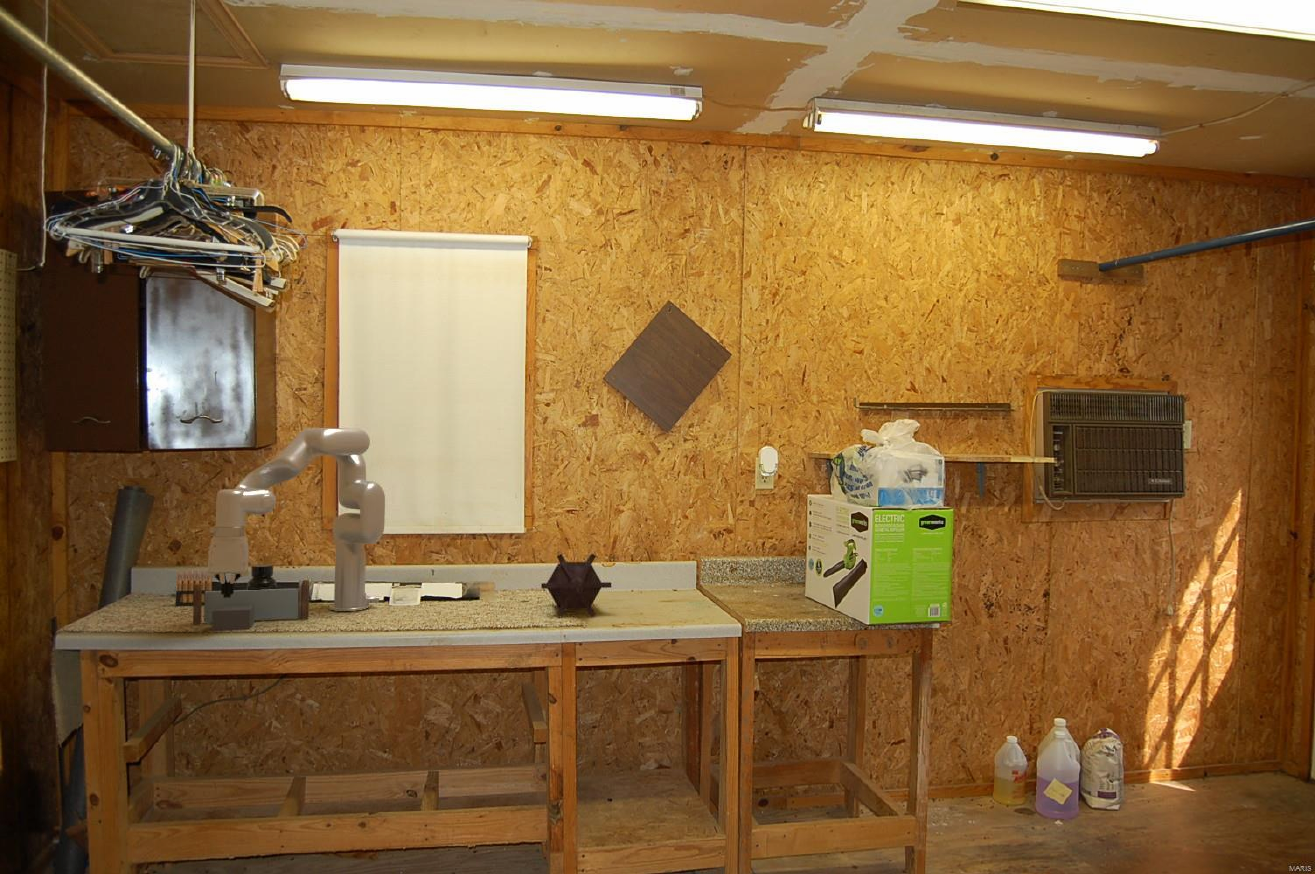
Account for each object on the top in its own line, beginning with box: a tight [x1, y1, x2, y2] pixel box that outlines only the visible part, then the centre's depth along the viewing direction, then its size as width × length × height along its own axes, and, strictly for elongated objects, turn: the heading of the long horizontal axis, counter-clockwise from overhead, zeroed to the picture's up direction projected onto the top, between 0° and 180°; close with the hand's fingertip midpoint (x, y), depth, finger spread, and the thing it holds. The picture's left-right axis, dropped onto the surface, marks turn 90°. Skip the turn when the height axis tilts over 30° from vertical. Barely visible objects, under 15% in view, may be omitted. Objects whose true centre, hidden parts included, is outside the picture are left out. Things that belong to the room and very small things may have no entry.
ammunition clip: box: [174, 568, 213, 607], centre depth 277 cm, size 11×2×12 cm, turn 105°
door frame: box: [192, 579, 310, 627], centre depth 256 cm, size 32×2×12 cm, turn 111°
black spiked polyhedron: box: [540, 553, 612, 618], centre depth 279 cm, size 21×23×30 cm
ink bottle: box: [247, 563, 277, 588], centre depth 288 cm, size 10×9×12 cm
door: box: [203, 587, 299, 623], centre depth 256 cm, size 26×2×9 cm, turn 108°
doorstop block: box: [211, 606, 254, 632], centre depth 247 cm, size 10×6×6 cm, turn 107°
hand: (227, 596), depth 239 cm, fingers closed
